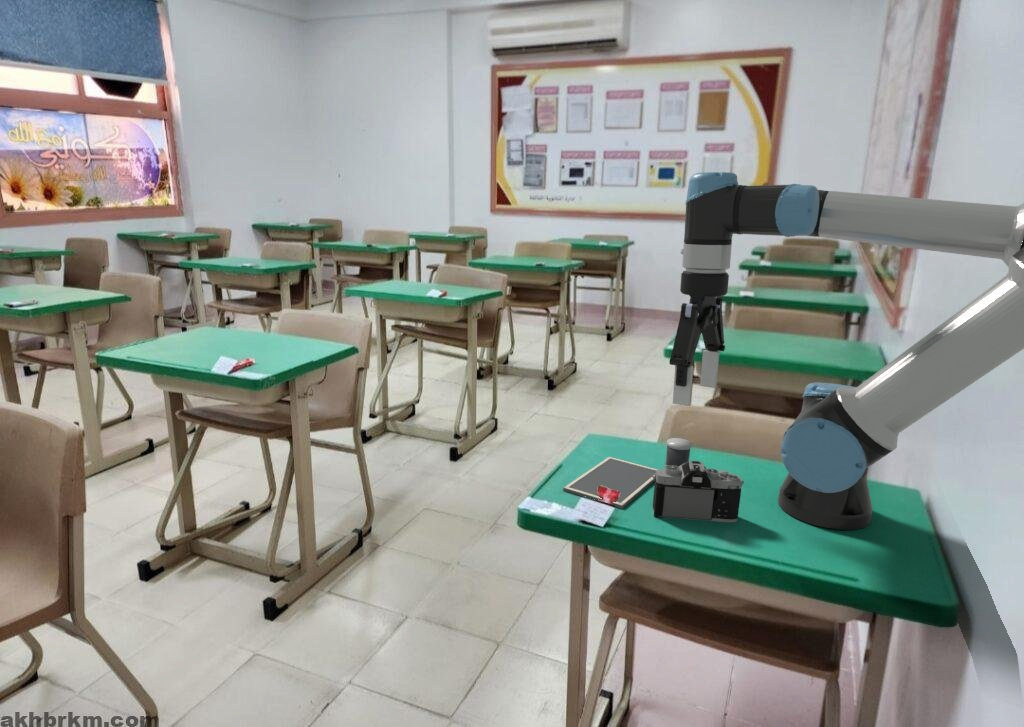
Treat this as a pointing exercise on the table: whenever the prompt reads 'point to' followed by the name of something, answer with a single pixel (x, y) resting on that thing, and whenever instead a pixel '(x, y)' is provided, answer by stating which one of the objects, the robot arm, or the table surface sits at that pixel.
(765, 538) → the table surface
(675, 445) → the lens
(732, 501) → the camera
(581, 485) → the mat
